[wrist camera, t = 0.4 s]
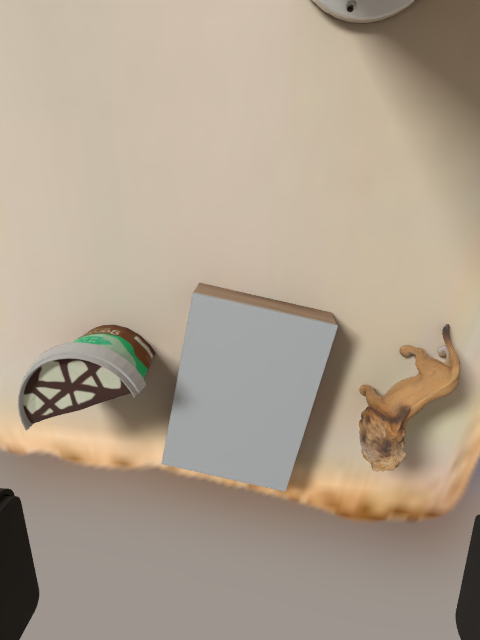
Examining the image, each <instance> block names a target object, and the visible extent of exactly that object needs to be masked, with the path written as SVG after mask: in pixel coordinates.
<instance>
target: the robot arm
mask: <svg viewBox="0 0 480 640" xmlns="http://www.w3.org/2000/svg"><path fill="white" fill-rule="evenodd" d="M312 1H313V2H314V3H315V4H316V5H317V6H319V7H320V8H321V9H322V10H323V11H325V12H326V13H328V14H330V15H332V16H333V17H335V18H338V19H341V20H344V21H348V22H355V23H369V22H375V21H380V20H383V19H385V18H388V17H391V16H393V15H395V14H397V13H399V12H400V11H402V10H403V9H405V8H407V7H408V6H410V5H411V4H412V3H413V2H414V1H415V0H312ZM348 7H352V9H353V11H352V12H348V11H347V8H348ZM38 600H39V587H38V582H37V578H36V573H35V568H34V563H33V558H32V553H31V548H30V544H29V539H28V534H27V529H26V524H25V519H24V514H23V509H22V504H21V501H20V498H19V497H16V496H14V493H13V491H12V490H11V489H2V488H0V640H19V639H20V637H21V635H22V634H23V632H24V630H25V628H26V626H27V624H28V623H29V621H30V619H31V617H32V615H33V613H34V612H35V609H36V607H37V604H38ZM456 624H457V629H458V633H459V635H460V638H461V640H480V515H477V516H476V518H475V522H474V527H473V531H472V536H471V541H470V546H469V551H468V556H467V561H466V565H465V570H464V575H463V580H462V585H461V590H460V595H459V599H458V604H457V609H456Z"/></svg>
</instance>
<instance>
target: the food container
mask: <svg viewBox="0 0 480 640" xmlns="http://www.w3.org/2000/svg"><path fill="white" fill-rule="evenodd" d="M154 355H155V353H154V352H153V350H152V348H151V346H150V345H149V344H148V343H147V342H146V341H145V340H144V339H143V338H142V337H141V336H140V335H139V334H137V333H135V332H134V331H132V330H130V329H128V328H125V327H121V326H117V325H103V326H99V327H96V328H94V329H92V330H91V331H89V332H88V333H86V334H84V335H83V336H81V337H80V338H78V339H77V340H75V341H74V342H72V343H66V344H62V345H58V346H55V347H53V348H51V349H49V350H47V351H46V352H44V353H43V354H41V355H40V356H39V357H38V358H37V359H36V360H35V362H34V363H33V365H32V366H31V368H30V369H29V371H28V372H27V374H26V375H25V377H24V379H23V381H22V384H21V387H20V391H19V396H18V410H19V415H20V418H21V421H22V424H23V426H24V428H25V430H27V429H28V428H29V427H31V426H32V425H33V424H34V423H35V422H39V421H41V420H44V419H47V418H50V417H54V416H57V415H61V414H65V413H70V412H74V411H78V410H81V409H84V408H87V407H90V406H92V405H95V404H98V403H101V402H104V401H107V400H110V399H113V398H116V397H119V396H123V395H126V394H129V393H132V395H133V397H135V396H136V395H137V393H140V392H141V391H142V390H143V389H144V387H145V386H146V385H147V384H146V382H145V381H144V377H145V375H146V373H147V371H148V368H149V366H150V364H151V362H152V359H153V357H154Z"/></svg>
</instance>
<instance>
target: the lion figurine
mask: <svg viewBox="0 0 480 640" xmlns="http://www.w3.org/2000/svg"><path fill="white" fill-rule="evenodd" d="M442 334H443V339H444V341H445V344H446V346H443V347H441V348H440V349H439V350H438V354H439V356H440V357H446V360H445V362H444V363H442V362H441V361H439V360H436V359H434V358H431V357H429V356H427V355H426V352H425V350H424V349H422V348H415V347H413V346H403V347H401V348H400V353H401V355H403V356H404V357H408V356H410V355H411V354H414V355H415V356H416V367H417V369H418V371H419V374H418V375H416V376H414V377H410V378H407V379H404V380H401V381H400V382H398V383H397V384H395V385H394V386H393V387H392V388H391V389H390V390H389V391H388V392H387V393H386V394H385V395H383V396H381V395H377V394H376V392H375V390H374V388H372V387H371V386H369V385H363V386H361V387H360V393H361V394H362V395H364V396H366V400H367V403H368V405H369V407H367V408H366V410H364V411H363V412H362V414H361V418H362V419H361V420H360V422H359V427H360V431H359V433H360V444H361V446H362V451H361V452H362V454H363V457H364V458H365V459H366V460H367V461H369V462H370V463H371V465H372V469H373V471H374V472H377V471H379V470H380V471H384V470H393V469H394V468H395V467H398V466H399V462H401V461H402V460H403V458H404V457H405V456H406V452H405V451H404V436H405V434H406V432H405V427H406V424H407V422H408V420H409V419H410V418H411V417H412V416H414V415H415V414H416V413H418V412H419V411H420V410H421V409H423V408H424V406H425V405H427V404H428V403H429V402H431V401H432V400H435V399H437V398H440V397H444V396H446V395H448V394H450V393H451V392H452V391H453V390H454V389H455V388H456V386H457V385H458V383H459V378H458V375H459V372H460V362H459V358H458V356H457V354H456V352H455V350H454V348H453V346H452V344H451V342H450V338H449V324H446V326H445V327H444V328H443V333H442Z"/></svg>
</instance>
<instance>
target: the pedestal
mask: <svg viewBox="0 0 480 640" xmlns="http://www.w3.org/2000/svg"><path fill="white" fill-rule="evenodd" d="M337 328H338V325H337V323H336V321H335V318H334V316H333V314H332V313H330V312H326V311H321V310H317V309H313V308H308V307H304V306H299V305H295V304H291V303H286V302H282V301H277V300H273V299H269V298H264V297H260V296H255V295H251V294H247V293H242V292H238V291H233V290H229V289H225V288H220V287H216V286H211V285H207V284H202V283H199V285H198V286H197V288H196V289H195V291H194V292H193V295H192V301H191V306H190V312H189V317H188V322H187V328H186V333H185V339H184V344H183V350H182V355H181V361H180V366H179V372H178V377H177V383H176V388H175V393H174V399H173V404H172V410H171V415H170V421H169V426H168V432H167V437H166V443H165V448H164V454H163V459H162V464H164V465H168V466H173V467H177V468H182V469H186V470H191V471H195V472H200V473H204V474H208V475H213V476H217V477H222V478H226V479H231V480H235V481H240V482H244V483H249V484H253V485H258V486H262V487H266V488H271V489H275V490H280V491H284V492H286V489H287V486H288V482H289V479H290V476H291V473H292V470H293V467H294V463H295V460H296V457H297V454H298V451H299V448H300V444H301V441H302V438H303V435H304V432H305V429H306V425H307V422H308V419H309V416H310V413H311V410H312V407H313V403H314V400H315V397H316V394H317V391H318V388H319V384H320V381H321V378H322V375H323V372H324V369H325V365H326V362H327V359H328V356H329V353H330V350H331V346H332V343H333V340H334V337H335V334H336V331H337Z"/></svg>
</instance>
